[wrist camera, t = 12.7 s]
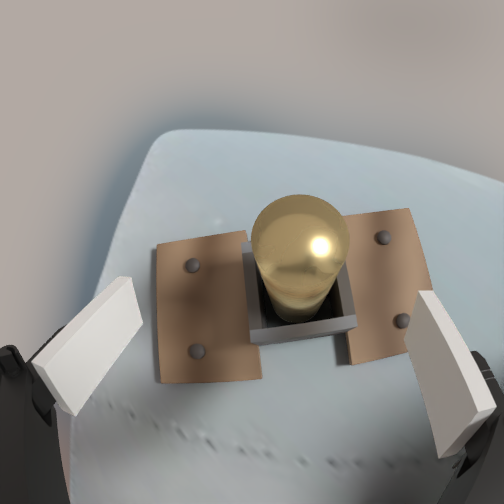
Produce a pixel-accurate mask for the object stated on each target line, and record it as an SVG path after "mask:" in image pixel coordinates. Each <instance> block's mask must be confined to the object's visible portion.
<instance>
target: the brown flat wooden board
mask: <svg viewBox="0 0 504 504" xmlns="http://www.w3.org/2000/svg"><path fill="white" fill-rule="evenodd" d="M342 217H343V219H344V220H345V222H346V225H347V227H348V231H349V236H350V245H349V251H348V255H347V257H346V259H345V262H344V263H343V265H342V267H341V269H340V271H339V273H338V275H337V277H336V279H335V281H334V283H333V285H332V286H331V288H330V290H329V297H330V303H331V309H332V316H333V319H327V320H321V321H314V322H308V323H301V324H295V325H288V326H280V327H273V328H267V322H266V313H265V305H264V296H263V288H262V279H261V273H260V270H259V268H258V265H257V262H256V260H255V257H254V254H253V251H252V246H251V241H248V240H247V234H246V231H245V230H243V231H237V232H230V233H224V234H217V235H211V236H205V237H199V238H193V239H187V240H181V241H175V242H169V243H163V244H157V263H156V295H157V330H158V350H159V365H160V377H161V383H211V382H229V381H243V380H255V379H262V370H261V361H260V352H259V345H268V344H276V343H284V342H291V341H298V340H305V339H311V338H318V337H324V336H329V335H335V334H341V333H345V334H346V341H347V348H348V356H349V363H350V365H355V364H360V363H365V362H369V361H374V360H378V359H382V358H386V357H390V356H394V355H398V354H402V353H406V352H408V350H407V347H406V345H405V342H404V337H405V334H406V331H407V328H408V325H409V322H410V318H411V315H412V311H413V308H414V304H415V301H416V297H417V293H418V291H430V290H433V288H432V284H431V280H430V276H429V272H428V268H427V264H426V261H425V257H424V253H423V250H422V247H421V243H420V240H419V237H418V233H417V230H416V227H415V224H414V221H413V218H412V215H411V212H410V210H409V208H404V209H396V210H388V211H380V212H372V213H364V214H356V215H348V216H342Z"/></svg>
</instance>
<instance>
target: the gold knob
mask: <svg viewBox="0 0 504 504" xmlns="http://www.w3.org/2000/svg"><path fill="white" fill-rule="evenodd" d="M349 245H350V236H349V231H348V227H347V225H346V222H345V220H344V219H343V217H342V216H341V214H340V213H339V212H338V211H337V210H336V209H335V208H334V207H333V206H332V205H331V204H329V203H328V202H326V201H324V200H322V199H320V198H317V197H314V196H309V195H290V196H286V197H283V198H280V199H278V200H276V201H274V202H272V203H271V204H269V205H268V206H267V207H266V208H265V209H264V210H263V211H262V212H261V213H260V214H259V216H258V217H257V219H256V221H255V223H254V226H253V229H252V233H251V246H252V251H253V254H254V257H255V260H256V262H257V265H258V268H259V270H260V273H261V276H262V279H263V281H264V284H265V287H266V289H267V292H268V295H269V298H270V300H271V303H272V306H273V308H274V310H275V312H276V313H277V314H278V316H279V317H281V318H282V319H284V320H285V321H288V322H292V323H301V322H305V321H307V320H309V319H311V318H312V317H313V316H314V315H315V314H316V313H317V312H318V310H319V308H320V307H321V305H322V303H323V301H324V299H325V298H326V296H327V294H328V292H329V290H330V288H331V286H332V285H333V283H334V281H335V279H336V277H337V275H338V273H339V271H340V269H341V267H342V265H343V263H344V262H345V259H346V257H347V255H348V251H349Z"/></svg>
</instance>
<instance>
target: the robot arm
mask: <svg viewBox="0 0 504 504" xmlns="http://www.w3.org/2000/svg"><path fill="white" fill-rule="evenodd" d="M142 325H143V321H142V317H141V314H140V310H139V306H138V303H137V299H136V295H135V291H134V287H133V283H132V279H131V277H122V276H119V277H117V278H116V279H115V280H114V281H113V282H112V283H111V284H110V285H109V286H107V287H106V288H105V289H104V290H103V291H102V292H101V293H100V294H99V295H98V296H97V297H96V298H94V299H93V300H92V301H91V302H90V303H89V304H88V305H87V306H86V307H85V308H84V309H83V310H82V311H81V312H80V313H79V314H78V315H77V316H76V317H75V318H74V319H72V320H71V322H69V323H68V324H67V325H65V326H63V327H62V328H60V329H58V330H57V332H55V333H54V335H53V336H52V338H49V340H47V342H46V343H45V344H44V345H43V346H42V347H41V348H40V349H39V350H38V351H37V352H36V353H35V354H34V355H33V356H32V357H31V358H30V359H29V360H28V361H27V362H26V363H25V362H24V360H23V358H22V356H21V355H20V353H19V351H18V349H17V348H16V347H15V346H14V345H6V346H4V347H2V348H0V504H70V500H69V496H68V492H67V487H66V483H65V478H64V472H63V467H62V461H61V454H60V447H59V439H58V429H57V418H56V410H55V408H54V406H53V405H54V404H55V402H57V403H58V405H59V406H60V407H61V409H62V410H63V411H65V412H67V413H69V414H71V415H73V416H75V417H76V416H77V414H78V413H79V411H80V410H81V408H82V407H83V405H84V404H85V403H86V401H87V400H88V398H89V397H90V395H91V394H92V393H93V391H94V390H95V388H96V387H97V386H98V384H99V383H100V381H101V380H102V379H103V377H104V376H105V374H106V373H107V372H108V370H109V369H110V367H111V366H112V365H113V363H114V362H115V361H116V359H117V358H118V357H119V355H120V354H121V352H122V351H123V350H124V348H125V347H126V346H127V344H128V343H129V342H130V340H131V339H132V338H133V336H134V335H135V334H136V332H137V331H138V330H139V328H140V327H141V326H142ZM404 342H405V345H406V347H407V350H408V353H409V356H410V359H411V362H412V365H413V368H414V371H415V374H416V377H417V380H418V383H419V386H420V389H421V393H422V396H423V399H424V403H425V406H426V410H427V413H428V417H429V421H430V425H431V428H432V432H433V437H434V441H435V445H436V450H437V454H438V459H440V458H444V457H448V456H452V455H455V454H457V453H458V452H459V451H460V450H461V449H462V448H463V447H464V446H465V449H466V453H465V454H464V455H463V456H462V457H461V458H460V459H459V460H458V461H457V462H456V463H455V465H454V466H453V467H452V468H456V467H457V466H458V467H457V469H456V471H455V473H454V475H453V477H452V479H451V481H450V482H449V484H448V486H447V488H446V490H445V491H444V493H443V495H442V496H441V498H440V500H439V501H438V503H437V504H504V395H503V393H502V391H501V389H500V387H499V385H498V383H497V381H496V379H494V375H493V373H492V371H490V367H489V366H488V364H487V362H486V360H485V359H484V358H483V357H482V356H481V355H480V354H479V353H478V352H477V351H471V352H470V351H469V349H468V347H467V346H466V344H465V342H464V340H463V338H462V337H461V335H460V333H459V332H458V330H457V328H456V326H455V325H454V323H453V321H452V320H451V318H450V317H449V315H448V313H447V312H446V310H445V309H444V307H443V305H442V304H441V302H440V301H439V299H438V298H437V296H436V295H435V293H434V292H433V290H430V291H418V293H417V297H416V301H415V304H414V308H413V311H412V315H411V318H410V322H409V325H408V328H407V331H406V334H405V337H404Z"/></svg>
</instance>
